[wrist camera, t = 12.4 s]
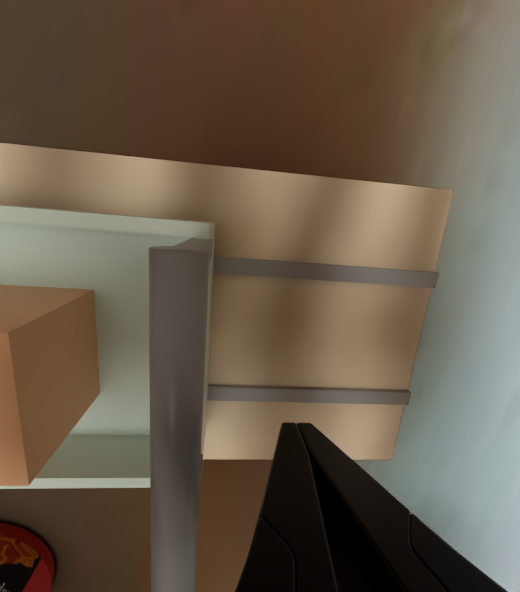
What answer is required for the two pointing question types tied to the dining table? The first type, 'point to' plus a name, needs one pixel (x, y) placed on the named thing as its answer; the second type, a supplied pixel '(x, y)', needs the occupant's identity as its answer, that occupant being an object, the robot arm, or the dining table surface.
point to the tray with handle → (131, 360)
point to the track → (279, 285)
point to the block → (43, 373)
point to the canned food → (24, 561)
